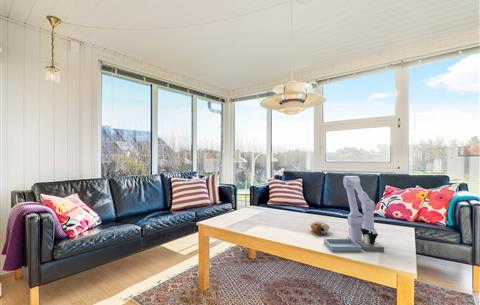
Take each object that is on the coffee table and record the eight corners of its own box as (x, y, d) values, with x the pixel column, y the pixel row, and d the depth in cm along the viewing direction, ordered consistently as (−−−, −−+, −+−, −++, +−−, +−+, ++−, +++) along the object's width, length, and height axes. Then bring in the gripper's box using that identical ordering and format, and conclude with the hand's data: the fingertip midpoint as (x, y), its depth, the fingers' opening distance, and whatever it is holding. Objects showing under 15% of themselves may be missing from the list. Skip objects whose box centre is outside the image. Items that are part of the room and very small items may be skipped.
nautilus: (323, 239, 167) (303, 236, 177) (333, 230, 184) (314, 227, 193) (322, 228, 167) (302, 225, 177) (332, 220, 184) (313, 218, 193)
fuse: (364, 245, 153) (364, 234, 153) (370, 245, 153) (370, 234, 153) (367, 247, 149) (367, 236, 149) (373, 247, 149) (373, 236, 149)
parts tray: (323, 243, 159) (323, 238, 159) (351, 243, 158) (351, 238, 158) (331, 251, 145) (331, 246, 145) (361, 251, 144) (361, 246, 144)
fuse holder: (355, 243, 157) (355, 240, 157) (373, 244, 157) (373, 240, 157) (364, 251, 145) (364, 246, 145) (384, 251, 145) (384, 247, 145)
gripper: (356, 217, 159) (357, 238, 158) (368, 223, 144) (368, 246, 144) (367, 217, 158) (368, 238, 158) (379, 223, 144) (380, 246, 144)
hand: (369, 242), depth 151 cm, fingers open, 7 cm apart
